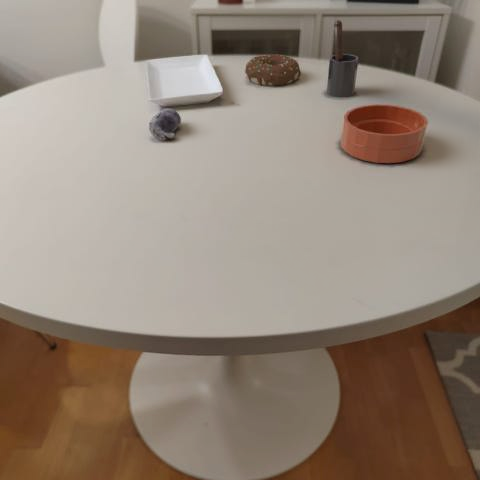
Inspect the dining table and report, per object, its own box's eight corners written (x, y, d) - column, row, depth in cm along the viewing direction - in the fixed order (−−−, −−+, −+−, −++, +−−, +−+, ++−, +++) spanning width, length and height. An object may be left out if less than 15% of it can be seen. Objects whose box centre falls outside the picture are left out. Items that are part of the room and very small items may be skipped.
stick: (339, 89, 106) (337, 18, 94) (345, 91, 105) (343, 19, 93) (335, 93, 105) (332, 21, 93) (341, 94, 104) (339, 22, 93)
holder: (336, 88, 109) (340, 52, 104) (359, 94, 105) (364, 57, 100) (320, 95, 106) (323, 58, 100) (343, 101, 102) (348, 63, 97)
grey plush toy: (166, 150, 89) (173, 131, 97) (181, 128, 86) (186, 110, 94) (142, 134, 87) (151, 116, 95) (156, 111, 84) (164, 94, 92)
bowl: (367, 127, 91) (371, 99, 88) (434, 146, 84) (442, 116, 80) (325, 150, 84) (328, 121, 80) (394, 174, 76) (401, 142, 73)
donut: (243, 74, 120) (242, 53, 117) (295, 71, 120) (296, 50, 117) (247, 92, 109) (246, 69, 106) (303, 89, 110) (305, 66, 106)
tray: (150, 114, 100) (147, 98, 98) (147, 72, 124) (144, 58, 121) (225, 107, 102) (224, 91, 100) (208, 67, 126) (207, 53, 123)
